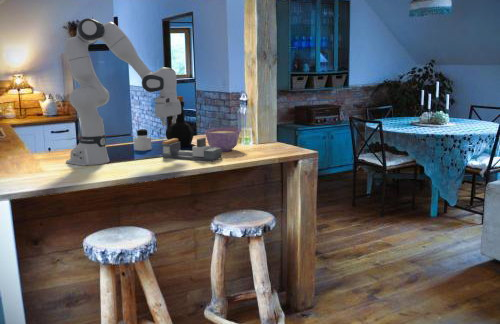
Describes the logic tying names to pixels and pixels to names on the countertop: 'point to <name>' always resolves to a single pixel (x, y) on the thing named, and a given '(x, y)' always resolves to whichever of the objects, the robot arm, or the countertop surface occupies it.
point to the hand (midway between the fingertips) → (169, 124)
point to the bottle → (180, 129)
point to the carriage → (200, 147)
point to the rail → (189, 153)
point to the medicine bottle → (142, 140)
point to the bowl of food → (223, 138)
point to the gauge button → (170, 141)
